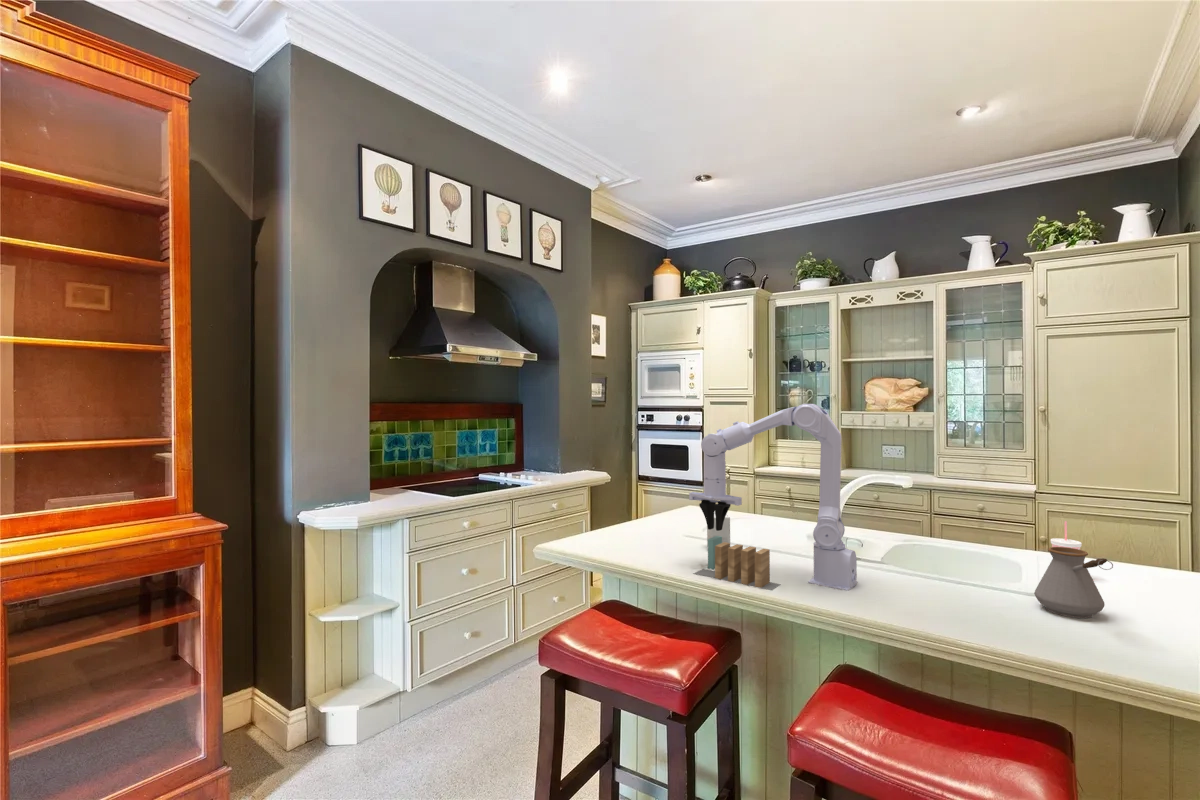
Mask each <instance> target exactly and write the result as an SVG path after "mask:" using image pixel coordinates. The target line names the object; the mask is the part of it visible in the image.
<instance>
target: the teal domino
mask: <svg viewBox="0 0 1200 800" xmlns="http://www.w3.org/2000/svg"><path fill="white" fill-rule="evenodd" d="M721 543H722V537H721V536H715V537H712V538H710V539H708V547H707V569H708V570H715V546H716V545H718V544H721Z"/></svg>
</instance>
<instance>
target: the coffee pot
mask: <svg viewBox="0 0 1200 800" xmlns="http://www.w3.org/2000/svg"><path fill="white" fill-rule="evenodd" d="M1047 551H1048V552H1049V554H1050V555H1051V557H1052V559H1051V561H1050V562H1049V564H1048V566H1047V568H1046V570H1045V572H1044V573H1043V576H1042V577H1041V579H1040V581H1039V582H1038V584H1037V586H1036V588H1035V590H1034V596H1035V598H1036V600H1037V601H1038V603H1040V604H1041V605H1042V606H1044V608H1045V610H1047V611H1049V612H1051V613H1053V614H1056V615H1060V616H1063V617H1068V618H1075V619H1089V618H1093V615H1097V614H1099V613H1100V612H1102V610H1103V609H1104V607H1105V605H1106V604H1105V600H1104V599H1103V597H1102V595H1101V593H1100V591H1099V589H1098V588H1097V586H1096V583H1095V581H1094V580H1093V577H1092V576H1091V573H1090V571H1089V570H1088V569H1090V568H1091V569H1092V568H1096V567H1099V568H1100V569H1101V570H1105V571H1108V570H1112V569H1113V568H1114V564H1113V563H1112V561H1110V560H1108V559H1107V558H1105V557H1104V558H1103V557H1102V558H1096V559H1092V560H1089V561H1087V562H1085V559H1086V557H1087V556H1088V555H1089V552H1087V551H1086V550H1082V549H1080V550H1079V549H1074V548H1067V547H1052V546H1051V547H1049V548H1048V549H1047ZM1107 562H1109V564H1110V565H1111V567H1110V568H1107V569H1106V568H1103V567H1102V566H1103V565H1104V564H1106V563H1107Z"/></svg>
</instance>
